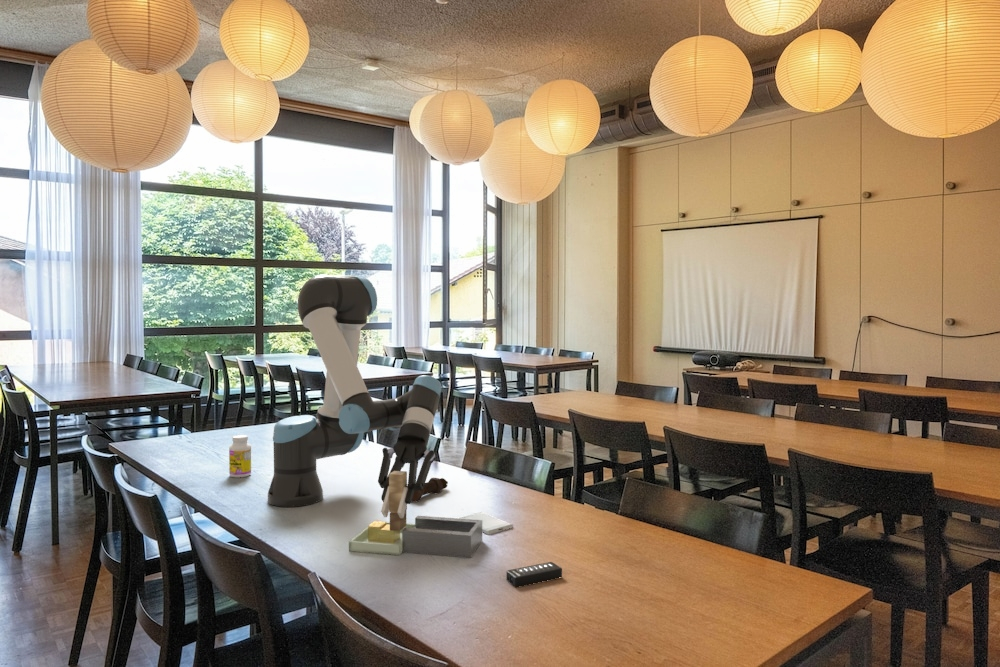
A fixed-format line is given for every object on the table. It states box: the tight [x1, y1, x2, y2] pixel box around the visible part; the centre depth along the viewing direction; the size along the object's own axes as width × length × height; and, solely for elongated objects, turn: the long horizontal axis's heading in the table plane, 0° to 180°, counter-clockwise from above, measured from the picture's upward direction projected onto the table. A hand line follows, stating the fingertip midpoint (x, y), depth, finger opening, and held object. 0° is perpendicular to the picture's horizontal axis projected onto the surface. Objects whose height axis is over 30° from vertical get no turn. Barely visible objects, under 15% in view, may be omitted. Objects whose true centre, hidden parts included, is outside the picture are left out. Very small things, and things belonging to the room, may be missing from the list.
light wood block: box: [367, 520, 387, 542], centre depth 161 cm, size 4×4×3 cm
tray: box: [348, 521, 415, 556], centre depth 160 cm, size 12×15×2 cm
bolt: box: [407, 477, 449, 502], centre depth 200 cm, size 6×5×15 cm
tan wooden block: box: [380, 524, 400, 543], centre depth 160 cm, size 4×4×3 cm
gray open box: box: [402, 515, 483, 559], centre depth 157 cm, size 16×11×5 cm
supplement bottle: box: [228, 434, 252, 479], centre depth 221 cm, size 7×7×13 cm
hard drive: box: [457, 511, 514, 535], centre depth 173 cm, size 2×8×12 cm
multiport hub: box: [505, 561, 563, 588], centre depth 139 cm, size 4×11×2 cm, turn 117°
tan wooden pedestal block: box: [388, 470, 408, 531], centre depth 159 cm, size 3×4×13 cm
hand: (392, 514), depth 156 cm, fingers closed on tan wooden pedestal block, 3 cm apart
